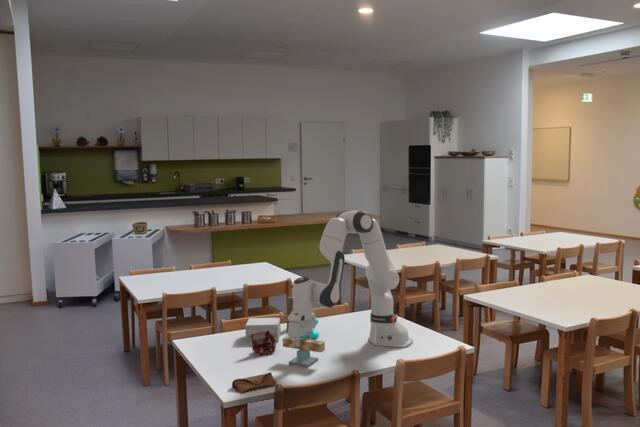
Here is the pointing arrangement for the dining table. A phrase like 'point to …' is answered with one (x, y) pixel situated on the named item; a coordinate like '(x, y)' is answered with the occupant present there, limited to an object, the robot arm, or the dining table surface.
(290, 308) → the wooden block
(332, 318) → the dining table surface
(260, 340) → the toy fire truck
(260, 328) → the supplement box
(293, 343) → the oak bar
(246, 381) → the sunglasses case
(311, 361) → the fulcrum
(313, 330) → the donuts
